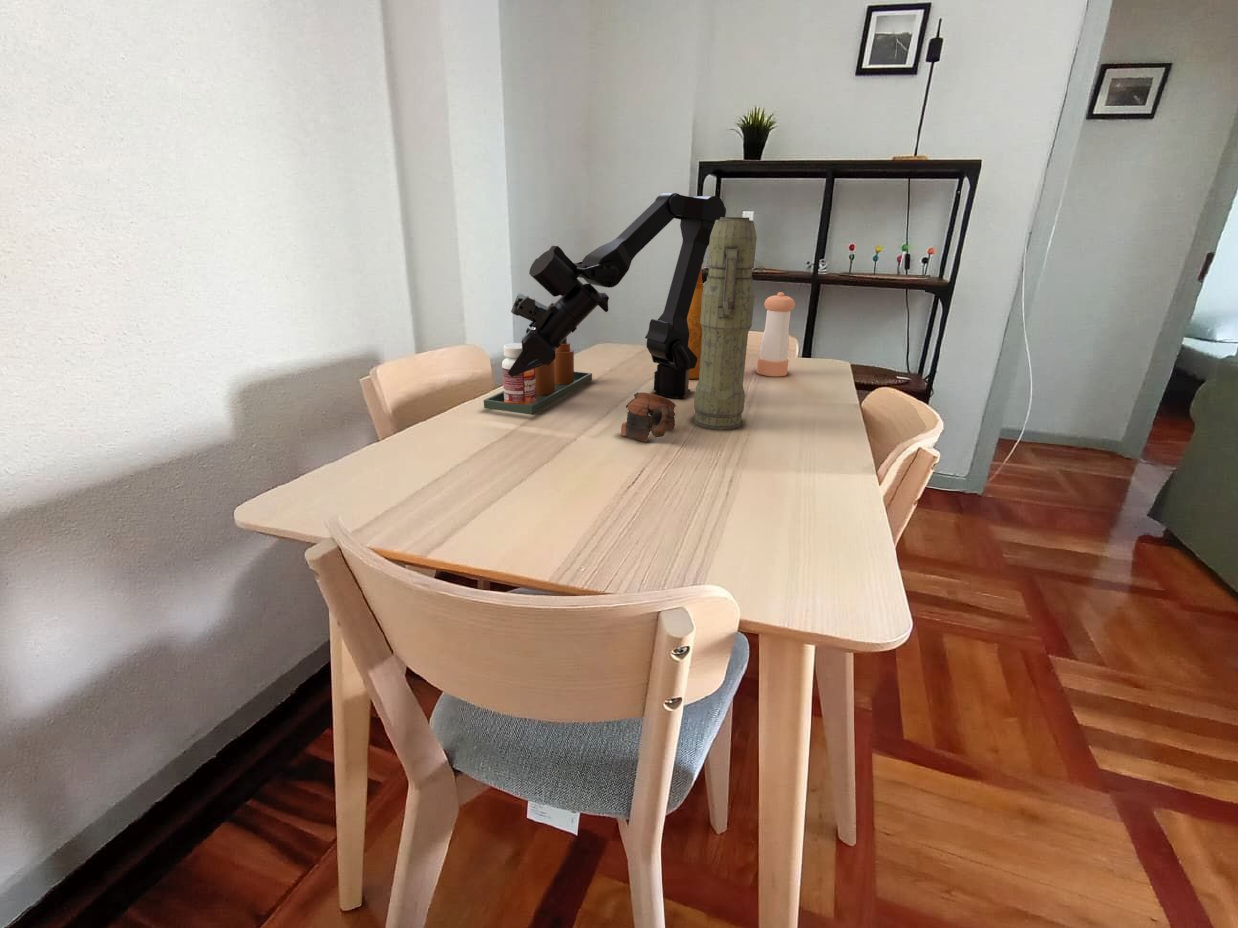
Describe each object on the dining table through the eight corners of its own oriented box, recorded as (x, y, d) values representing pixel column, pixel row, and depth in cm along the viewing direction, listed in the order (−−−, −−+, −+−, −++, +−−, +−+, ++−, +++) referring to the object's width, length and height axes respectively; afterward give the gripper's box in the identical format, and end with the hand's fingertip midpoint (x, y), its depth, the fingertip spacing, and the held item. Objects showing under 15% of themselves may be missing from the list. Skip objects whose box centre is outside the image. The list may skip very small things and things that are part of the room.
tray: (592, 383, 136) (592, 373, 136) (532, 418, 112) (531, 406, 111) (551, 378, 140) (551, 368, 139) (484, 411, 115) (483, 400, 114)
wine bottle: (712, 380, 141) (723, 243, 129) (669, 379, 141) (677, 242, 130) (706, 370, 150) (716, 241, 139) (667, 369, 150) (673, 240, 139)
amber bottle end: (577, 380, 135) (577, 330, 131) (568, 386, 131) (567, 334, 127) (557, 378, 137) (556, 329, 133) (547, 383, 132) (545, 332, 128)
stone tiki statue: (737, 413, 117) (756, 218, 104) (746, 433, 107) (768, 218, 93) (691, 411, 118) (704, 216, 105) (695, 431, 107) (710, 216, 94)
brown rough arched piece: (607, 434, 106) (620, 389, 107) (649, 450, 111) (662, 407, 112) (643, 437, 96) (659, 387, 96) (689, 455, 101) (703, 407, 101)
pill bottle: (531, 409, 114) (528, 349, 110) (499, 408, 115) (496, 348, 111) (540, 400, 120) (538, 343, 115) (510, 399, 121) (507, 341, 116)
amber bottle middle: (558, 391, 127) (558, 338, 123) (547, 397, 122) (546, 342, 118) (537, 388, 128) (535, 336, 124) (526, 394, 124) (523, 340, 120)
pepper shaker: (750, 372, 149) (758, 291, 142) (767, 368, 154) (776, 290, 147) (775, 378, 144) (785, 295, 137) (792, 373, 149) (803, 293, 142)
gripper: (540, 274, 117) (486, 331, 121) (533, 284, 100) (470, 350, 104) (581, 315, 121) (527, 370, 124) (581, 332, 104) (519, 395, 107)
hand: (511, 370), depth 115 cm, fingers closed on pill bottle, 6 cm apart
